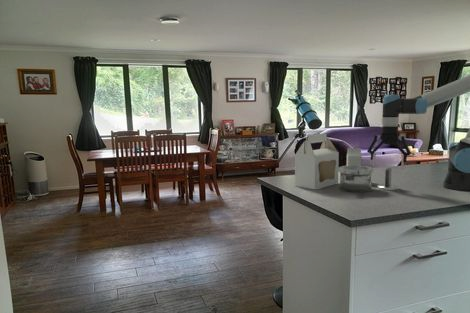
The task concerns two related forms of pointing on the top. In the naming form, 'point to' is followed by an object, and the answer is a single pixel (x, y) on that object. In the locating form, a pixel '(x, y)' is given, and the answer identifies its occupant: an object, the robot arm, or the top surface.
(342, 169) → the pot
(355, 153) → the milk carton
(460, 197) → the top surface
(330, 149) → the gable box
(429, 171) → the top surface
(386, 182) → the lid
